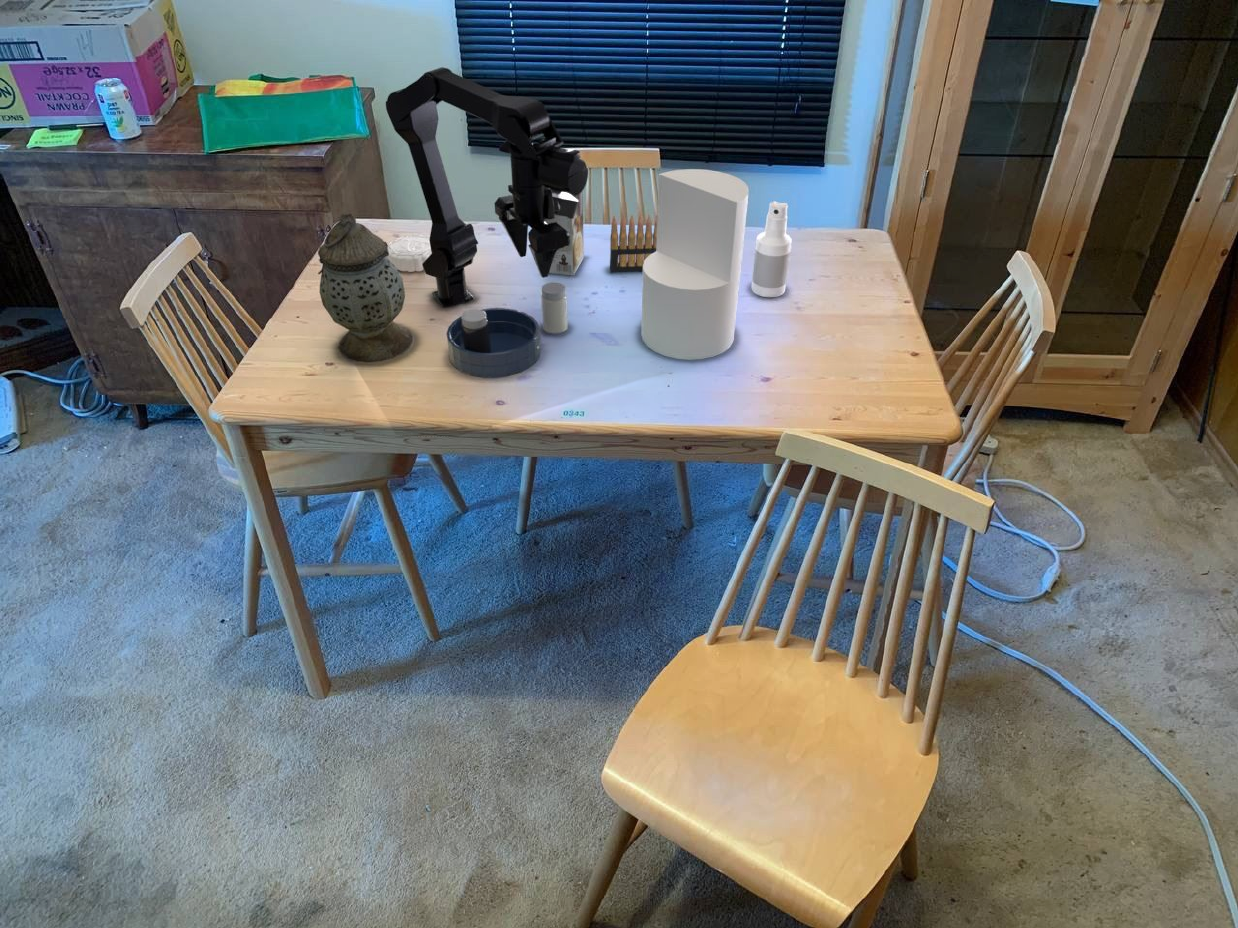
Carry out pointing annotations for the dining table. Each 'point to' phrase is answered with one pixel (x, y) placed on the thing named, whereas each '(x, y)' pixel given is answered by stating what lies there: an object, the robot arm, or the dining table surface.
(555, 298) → the salt shaker
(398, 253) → the mooncake
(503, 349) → the bowl
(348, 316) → the lantern
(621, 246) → the ammunition clip
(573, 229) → the coffee box
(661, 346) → the cylinder
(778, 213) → the spray bottle
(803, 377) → the dining table surface
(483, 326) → the pepper shaker
